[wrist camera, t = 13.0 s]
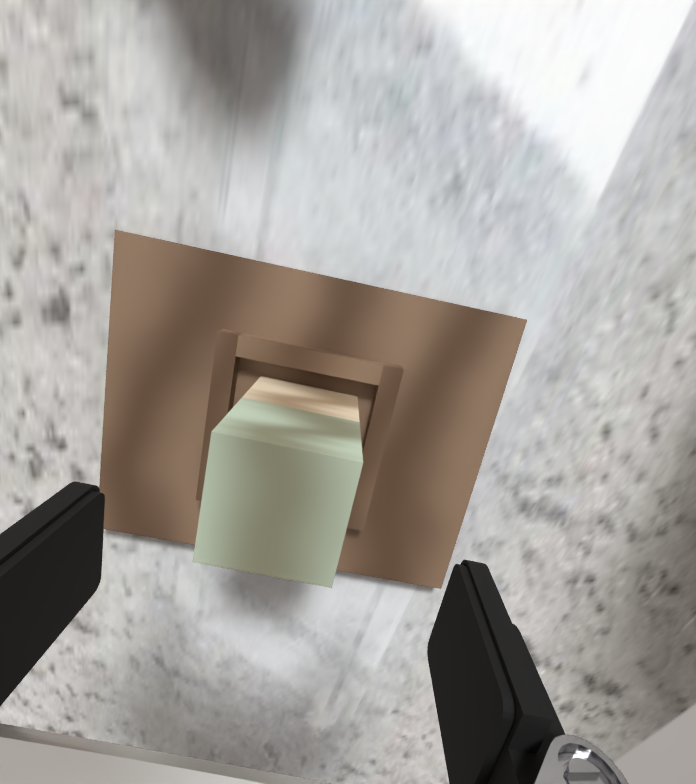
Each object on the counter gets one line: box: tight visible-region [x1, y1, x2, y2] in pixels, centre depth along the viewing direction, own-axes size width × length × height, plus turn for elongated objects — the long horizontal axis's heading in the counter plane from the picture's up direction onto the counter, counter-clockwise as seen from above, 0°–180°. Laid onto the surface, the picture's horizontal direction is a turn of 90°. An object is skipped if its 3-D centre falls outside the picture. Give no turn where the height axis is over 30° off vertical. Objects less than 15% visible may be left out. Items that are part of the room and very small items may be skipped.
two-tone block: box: [193, 376, 363, 588], centre depth 18 cm, size 5×5×8 cm
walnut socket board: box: [99, 230, 527, 589], centre depth 22 cm, size 20×16×2 cm
